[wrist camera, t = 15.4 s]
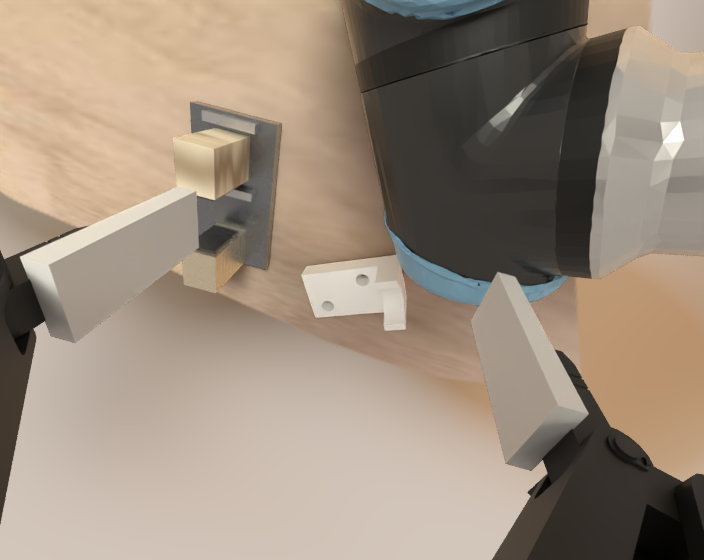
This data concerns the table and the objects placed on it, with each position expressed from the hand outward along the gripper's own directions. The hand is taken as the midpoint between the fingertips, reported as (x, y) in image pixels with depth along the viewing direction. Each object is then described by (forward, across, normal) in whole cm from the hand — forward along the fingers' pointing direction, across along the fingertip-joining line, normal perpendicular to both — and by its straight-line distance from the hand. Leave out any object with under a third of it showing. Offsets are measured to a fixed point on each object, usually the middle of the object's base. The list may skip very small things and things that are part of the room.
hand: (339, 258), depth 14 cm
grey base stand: (+27, -17, -10) cm, 33 cm away
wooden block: (+25, -17, -4) cm, 31 cm away
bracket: (+27, +1, -18) cm, 32 cm away
